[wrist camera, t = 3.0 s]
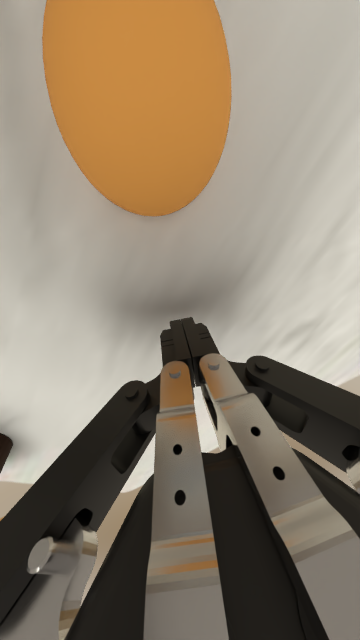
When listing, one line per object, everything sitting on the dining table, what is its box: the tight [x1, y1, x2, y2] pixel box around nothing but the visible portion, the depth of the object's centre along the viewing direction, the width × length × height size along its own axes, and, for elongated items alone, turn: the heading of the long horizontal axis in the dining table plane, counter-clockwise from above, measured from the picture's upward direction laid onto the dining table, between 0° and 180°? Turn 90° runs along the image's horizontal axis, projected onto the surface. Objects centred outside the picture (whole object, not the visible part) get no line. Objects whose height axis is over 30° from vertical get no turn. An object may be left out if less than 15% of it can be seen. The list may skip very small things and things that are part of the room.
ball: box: [42, 0, 231, 216], centre depth 6 cm, size 6×6×6 cm
